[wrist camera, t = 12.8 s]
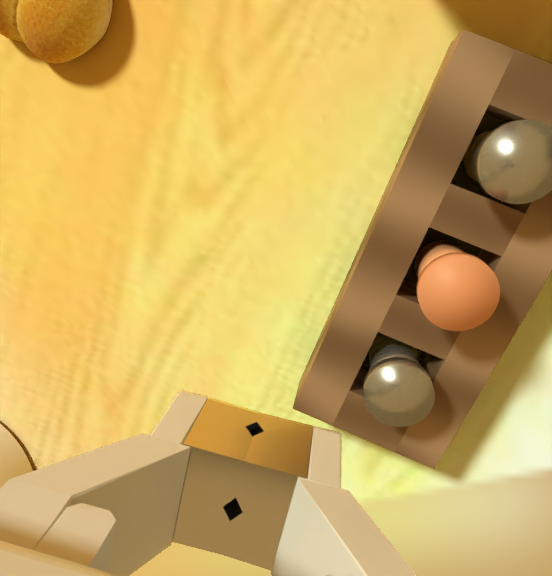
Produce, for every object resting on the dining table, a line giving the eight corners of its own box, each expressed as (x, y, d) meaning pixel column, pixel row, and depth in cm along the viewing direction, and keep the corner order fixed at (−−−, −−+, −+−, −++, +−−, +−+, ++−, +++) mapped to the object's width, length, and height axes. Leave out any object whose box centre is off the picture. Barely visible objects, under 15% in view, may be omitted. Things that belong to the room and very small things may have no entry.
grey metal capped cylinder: (407, 387, 36) (415, 437, 30) (354, 365, 36) (352, 410, 30) (432, 339, 34) (447, 381, 29) (377, 316, 35) (380, 353, 29)
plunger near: (506, 201, 31) (539, 216, 25) (445, 176, 31) (464, 186, 26) (540, 137, 30) (583, 138, 24) (476, 112, 30) (503, 106, 24)
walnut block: (427, 435, 37) (434, 469, 33) (299, 380, 37) (292, 408, 34) (614, 106, 29) (651, 101, 26) (451, 42, 30) (463, 29, 26)
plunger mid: (456, 305, 33) (476, 342, 27) (397, 281, 33) (405, 313, 27) (486, 248, 31) (515, 274, 25) (425, 224, 31) (439, 244, 26)
